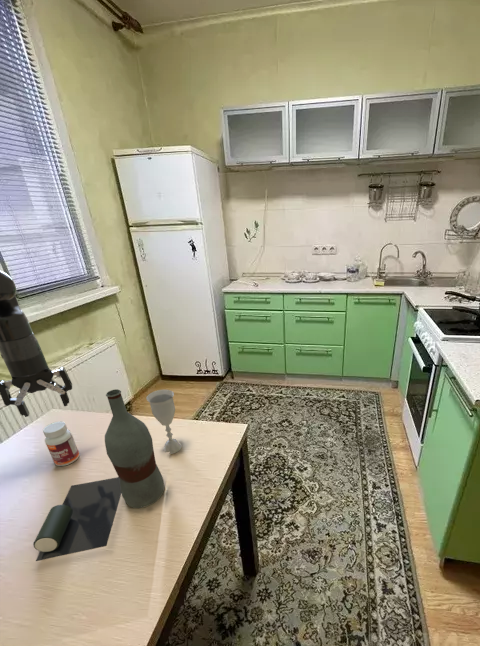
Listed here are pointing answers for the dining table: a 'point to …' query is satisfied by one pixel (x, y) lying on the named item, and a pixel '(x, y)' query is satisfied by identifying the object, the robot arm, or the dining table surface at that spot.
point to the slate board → (88, 517)
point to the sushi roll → (53, 528)
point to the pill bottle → (60, 443)
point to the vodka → (132, 455)
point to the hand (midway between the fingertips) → (47, 409)
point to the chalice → (164, 415)
